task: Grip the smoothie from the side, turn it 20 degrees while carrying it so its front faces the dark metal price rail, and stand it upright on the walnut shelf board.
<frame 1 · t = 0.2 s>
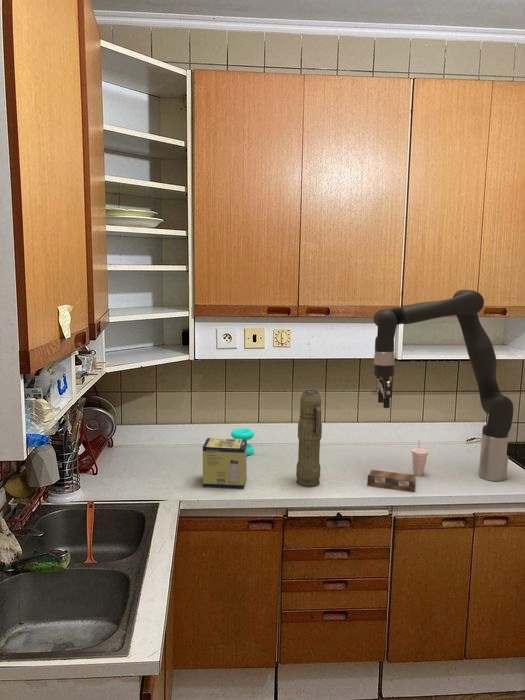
hand: (383, 405, 203), 29 cm above the worktop, tool pointing down, fingers open, 8 cm apart
thermos: (307, 482, 201), on the worktop
donuts: (242, 453, 231), on the worktop
shelf board: (391, 482, 203), on the worktop
protein box: (224, 483, 199), on the worktop
smoothie: (418, 474, 211), on the worktop
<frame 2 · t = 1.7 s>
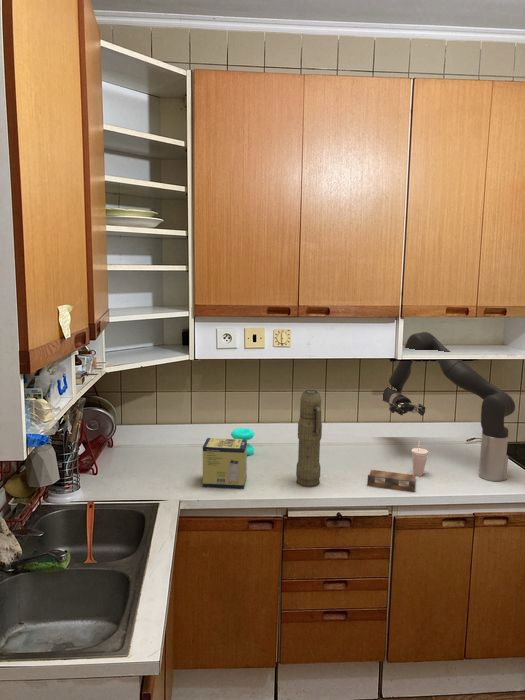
hand: (412, 413, 219), 22 cm above the worktop, tool horizontal, fingers open, 8 cm apart
nothing on the worktop moved.
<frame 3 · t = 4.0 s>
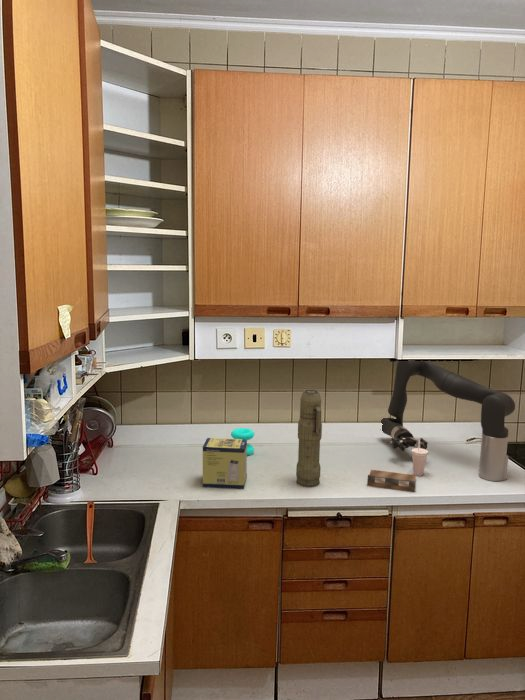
hand: (414, 449, 216), 8 cm above the worktop, tool horizontal, fingers open, 8 cm apart
nothing on the worktop moved.
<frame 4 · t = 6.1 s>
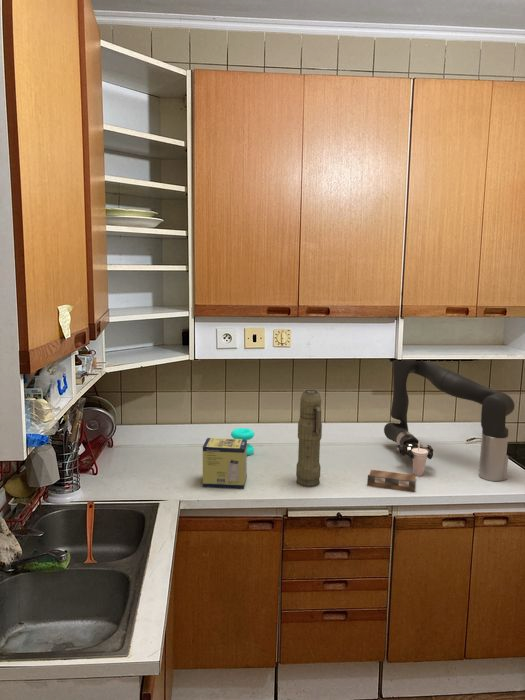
hand: (421, 456, 208), 8 cm above the worktop, tool horizontal, fingers closed on smoothie, 6 cm apart
smoothie: (418, 474, 211), on the worktop, touching gripper
everything else where it was.
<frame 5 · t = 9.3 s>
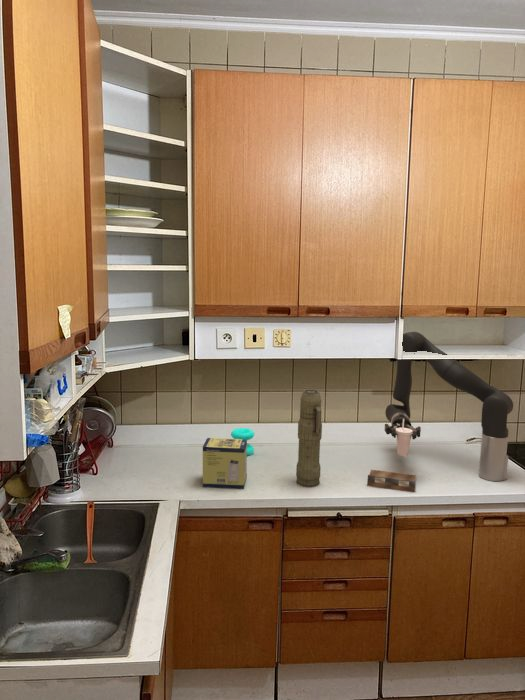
hand: (404, 436, 201), 18 cm above the worktop, tool horizontal, fingers closed on smoothie, 6 cm apart
smoothie: (402, 454, 204), point 10 cm above the worktop, touching gripper
everything else where it was.
when the fingers open (11 cm above the worktop, at t = 12.3 s): smoothie drops 1 cm, resting on shelf board.
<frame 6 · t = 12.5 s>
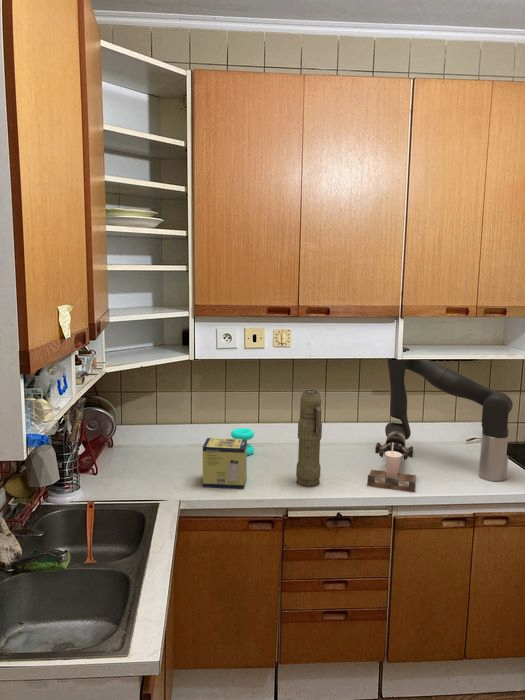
hand: (393, 456, 199), 11 cm above the worktop, tool horizontal, fingers open, 8 cm apart
smoothie: (391, 478, 203), point 1 cm above the worktop, touching shelf board
everything else where it was.
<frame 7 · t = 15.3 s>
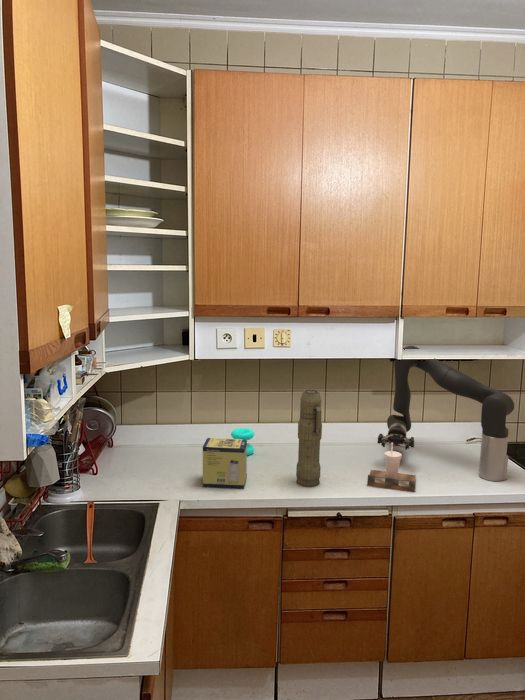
hand: (395, 446, 210), 11 cm above the worktop, tool horizontal, fingers open, 8 cm apart
nothing on the worktop moved.
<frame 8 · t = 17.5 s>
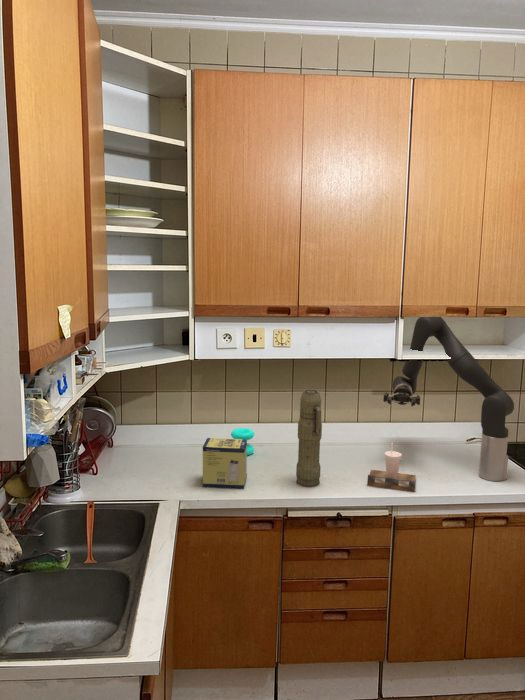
hand: (401, 402, 210), 28 cm above the worktop, tool horizontal, fingers open, 8 cm apart
nothing on the worktop moved.
at the end: smoothie inside the target area on the shelf board (0.2 cm from its centre), point 1.3 cm above the shelf board's base; smoothie tilted 0°; the gripper is holding nothing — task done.
